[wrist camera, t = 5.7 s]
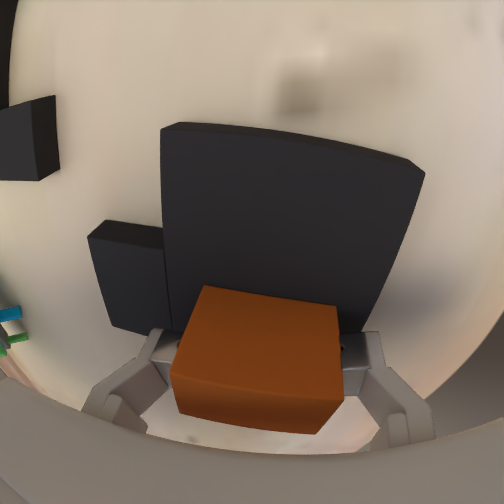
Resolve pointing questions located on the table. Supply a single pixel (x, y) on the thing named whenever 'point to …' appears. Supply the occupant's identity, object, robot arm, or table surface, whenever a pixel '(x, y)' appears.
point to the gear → (3, 341)
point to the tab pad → (258, 267)
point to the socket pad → (24, 121)
